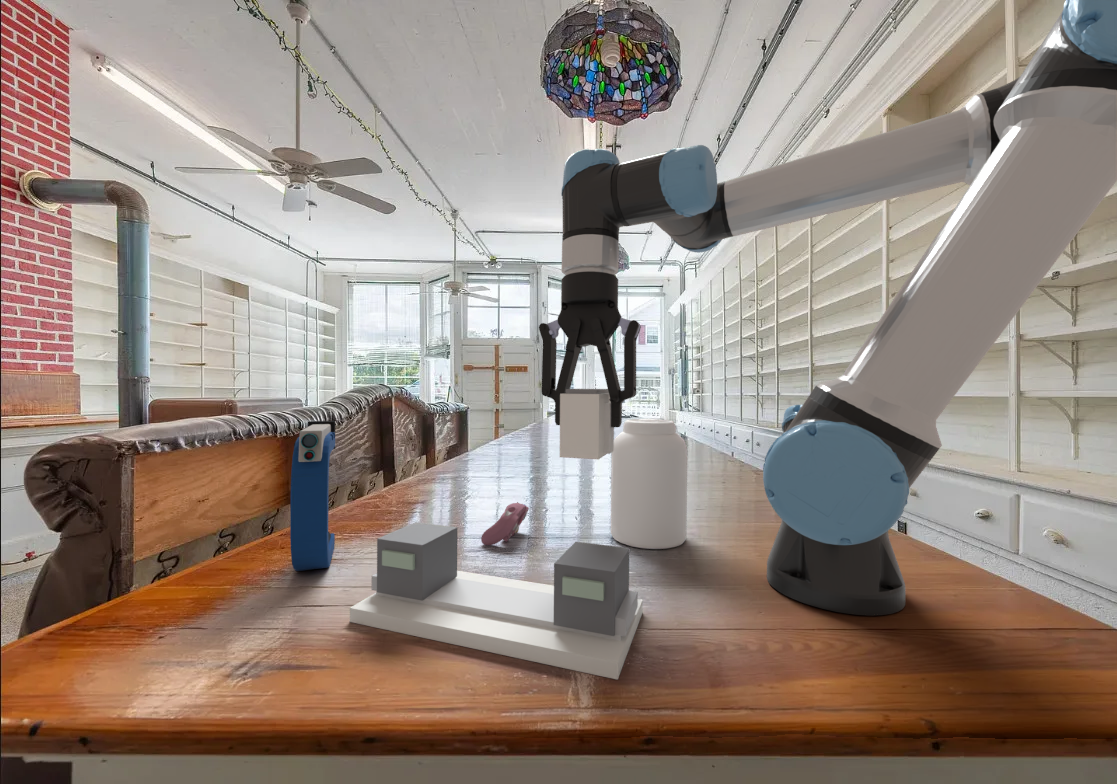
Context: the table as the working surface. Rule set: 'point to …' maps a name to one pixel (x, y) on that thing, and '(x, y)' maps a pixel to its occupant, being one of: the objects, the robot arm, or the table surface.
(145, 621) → the table surface
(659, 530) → the white jar
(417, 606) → the board
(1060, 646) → the table surface
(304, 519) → the handheld scanner
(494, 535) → the pink rounded piece
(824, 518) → the robot arm
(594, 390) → the block
